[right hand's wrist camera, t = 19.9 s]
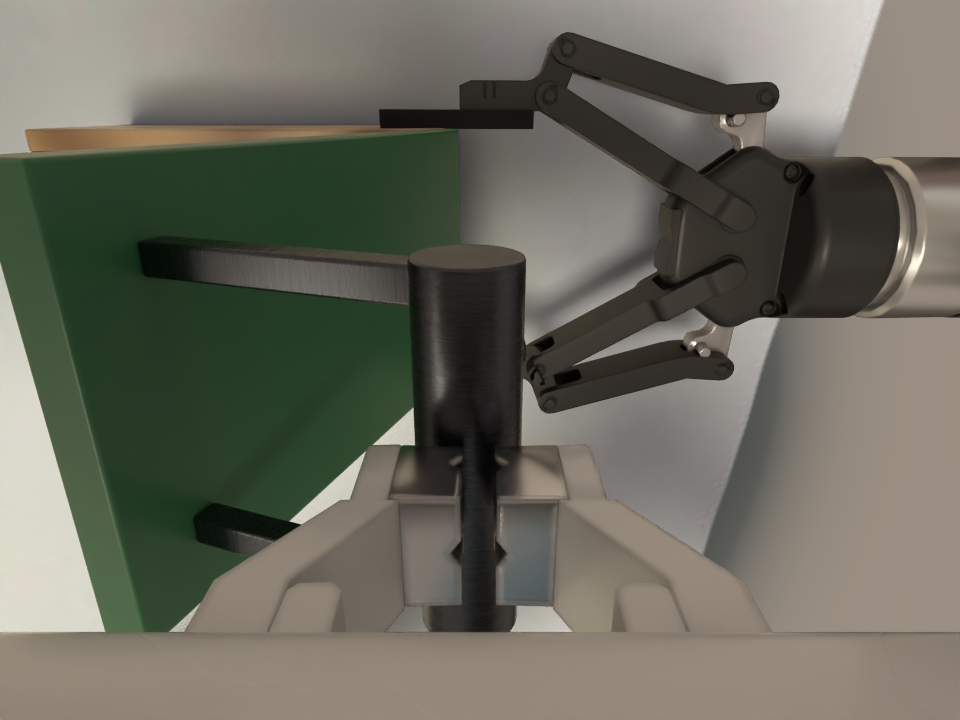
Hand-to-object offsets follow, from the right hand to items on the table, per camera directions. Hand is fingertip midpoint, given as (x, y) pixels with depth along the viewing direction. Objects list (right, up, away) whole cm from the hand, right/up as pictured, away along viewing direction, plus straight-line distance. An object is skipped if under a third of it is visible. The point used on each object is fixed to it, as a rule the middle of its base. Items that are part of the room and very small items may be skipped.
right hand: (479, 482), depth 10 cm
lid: (-5, +4, +9) cm, 11 cm away
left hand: (-4, +8, +20) cm, 22 cm away
